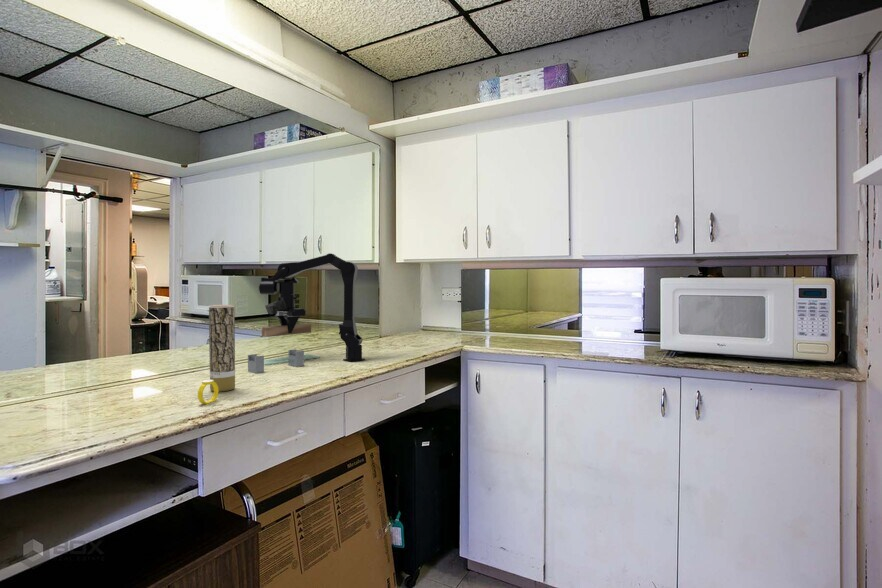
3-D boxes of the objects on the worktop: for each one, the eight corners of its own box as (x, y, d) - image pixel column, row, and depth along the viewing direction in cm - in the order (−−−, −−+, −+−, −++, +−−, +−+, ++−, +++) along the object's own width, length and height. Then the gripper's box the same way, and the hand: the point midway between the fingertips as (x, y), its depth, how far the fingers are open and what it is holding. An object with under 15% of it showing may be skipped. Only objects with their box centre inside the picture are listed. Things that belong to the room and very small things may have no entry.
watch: (204, 407, 121) (203, 384, 121) (195, 406, 122) (194, 383, 122) (221, 399, 127) (220, 378, 127) (213, 399, 128) (211, 377, 127)
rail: (311, 332, 196) (311, 324, 196) (266, 336, 181) (266, 327, 181) (306, 331, 199) (306, 323, 199) (261, 336, 184) (261, 327, 184)
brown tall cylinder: (225, 392, 135) (224, 306, 135) (204, 391, 137) (203, 305, 136) (240, 387, 142) (239, 304, 141) (220, 386, 143) (219, 304, 143)
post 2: (303, 365, 178) (303, 350, 178) (296, 367, 176) (296, 351, 176) (295, 364, 182) (295, 349, 182) (288, 365, 180) (288, 350, 179)
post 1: (264, 372, 166) (263, 355, 166) (255, 373, 164) (255, 356, 164) (256, 370, 170) (255, 354, 170) (247, 371, 168) (247, 355, 167)
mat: (319, 358, 196) (319, 356, 196) (265, 365, 178) (265, 364, 178) (307, 355, 202) (307, 354, 202) (253, 362, 184) (253, 361, 184)
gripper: (256, 294, 190) (257, 333, 190) (280, 295, 177) (281, 336, 178) (281, 293, 198) (282, 330, 199) (306, 294, 186) (307, 334, 186)
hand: (287, 333), depth 190 cm, fingers closed on rail, 3 cm apart
